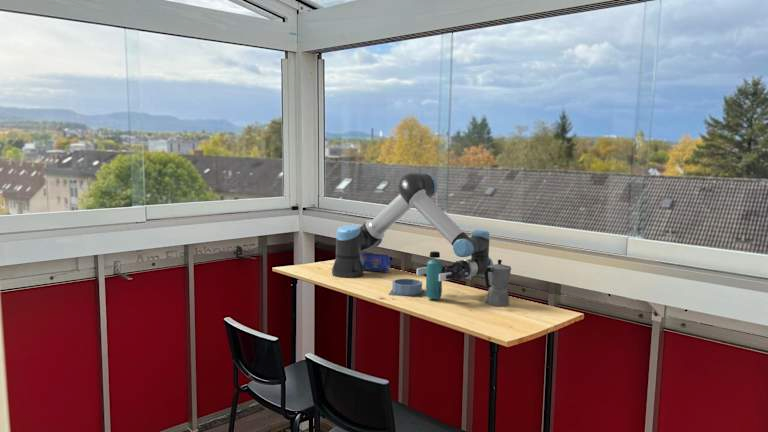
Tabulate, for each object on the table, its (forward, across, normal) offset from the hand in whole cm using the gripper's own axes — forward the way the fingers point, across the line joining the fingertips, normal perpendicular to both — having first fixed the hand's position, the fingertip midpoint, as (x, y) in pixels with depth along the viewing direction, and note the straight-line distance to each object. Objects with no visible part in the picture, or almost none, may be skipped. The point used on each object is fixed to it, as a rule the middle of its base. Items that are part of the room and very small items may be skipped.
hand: (427, 274), depth 230 cm
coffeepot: (-20, -18, -11) cm, 30 cm away
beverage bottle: (-4, 0, -11) cm, 12 cm away
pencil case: (-18, +60, -11) cm, 64 cm away
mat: (-3, +15, -11) cm, 19 cm away
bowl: (-3, +15, -11) cm, 19 cm away
